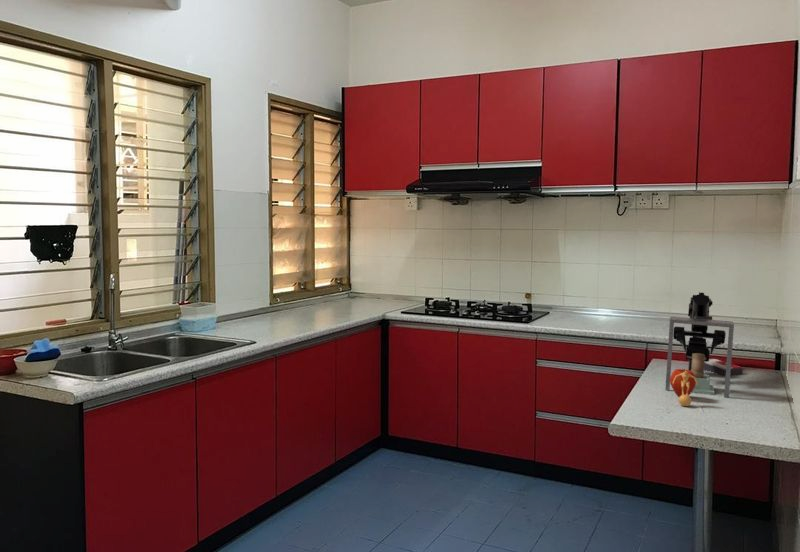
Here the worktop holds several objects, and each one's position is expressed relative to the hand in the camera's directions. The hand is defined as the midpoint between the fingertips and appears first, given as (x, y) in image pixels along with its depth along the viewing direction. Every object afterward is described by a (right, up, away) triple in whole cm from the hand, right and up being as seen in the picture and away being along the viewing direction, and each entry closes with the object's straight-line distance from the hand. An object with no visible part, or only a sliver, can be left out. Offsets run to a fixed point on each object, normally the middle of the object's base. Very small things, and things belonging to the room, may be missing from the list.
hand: (698, 352), depth 250 cm
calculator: (+22, -12, +28) cm, 37 cm away
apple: (-15, -15, -19) cm, 28 cm away
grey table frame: (-5, -14, -9) cm, 17 cm away
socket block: (-3, -13, -5) cm, 15 cm away
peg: (-3, -12, -5) cm, 14 cm away
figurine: (-18, -15, -28) cm, 37 cm away
